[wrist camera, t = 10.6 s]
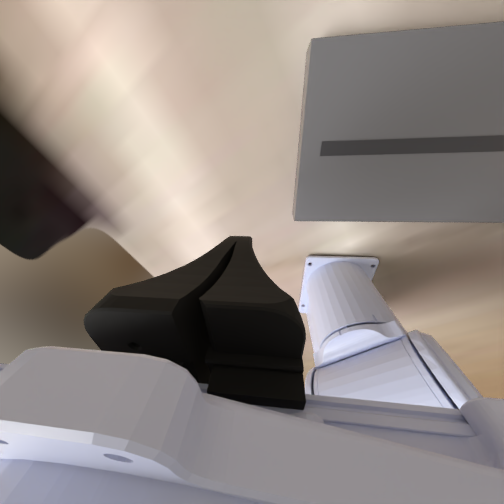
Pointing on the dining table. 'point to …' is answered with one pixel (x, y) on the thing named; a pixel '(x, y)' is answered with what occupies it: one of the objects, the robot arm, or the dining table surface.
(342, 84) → the console
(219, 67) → the dining table surface
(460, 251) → the dining table surface
